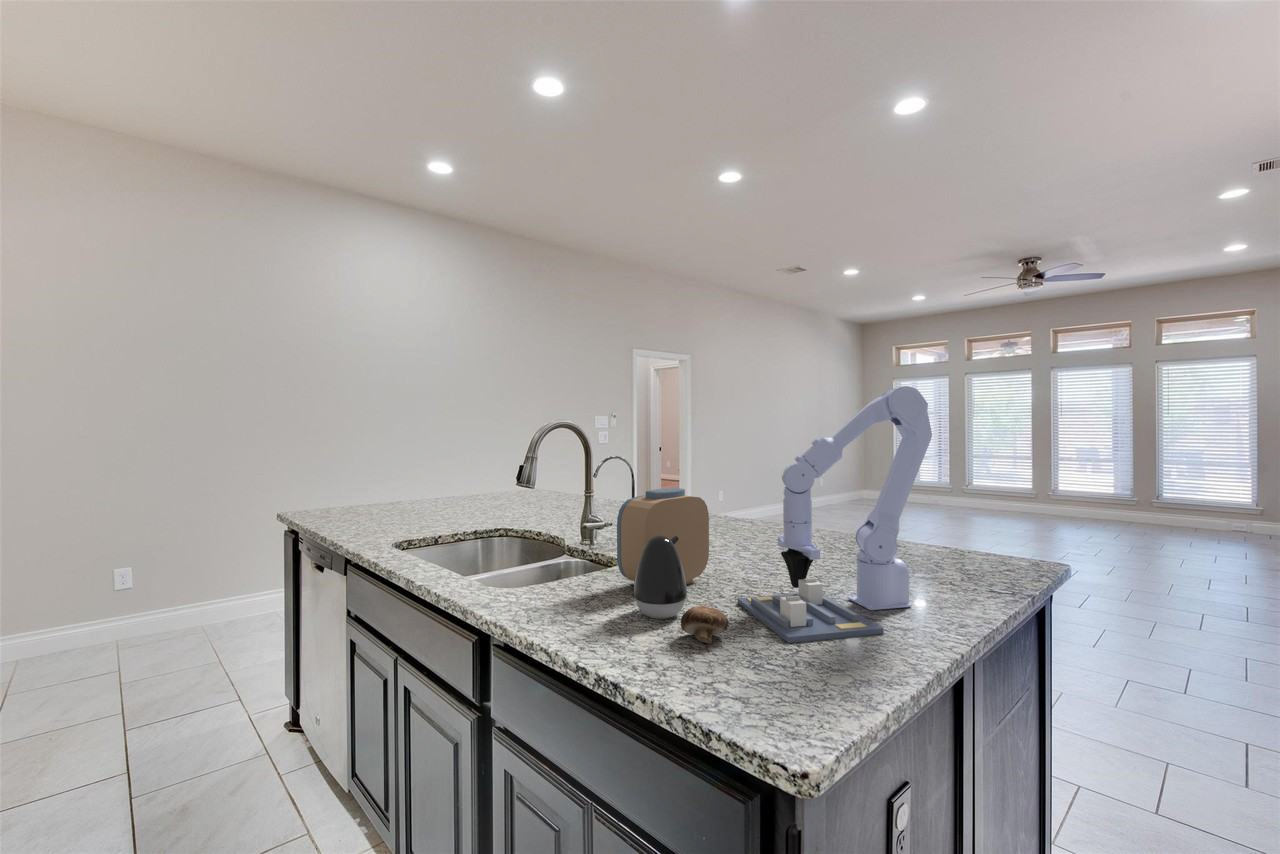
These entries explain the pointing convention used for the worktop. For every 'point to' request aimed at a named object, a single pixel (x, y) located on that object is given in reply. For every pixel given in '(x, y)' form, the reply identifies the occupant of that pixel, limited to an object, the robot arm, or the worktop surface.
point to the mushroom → (704, 622)
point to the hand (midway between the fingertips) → (797, 586)
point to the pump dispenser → (660, 579)
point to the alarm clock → (663, 529)
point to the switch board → (810, 619)
